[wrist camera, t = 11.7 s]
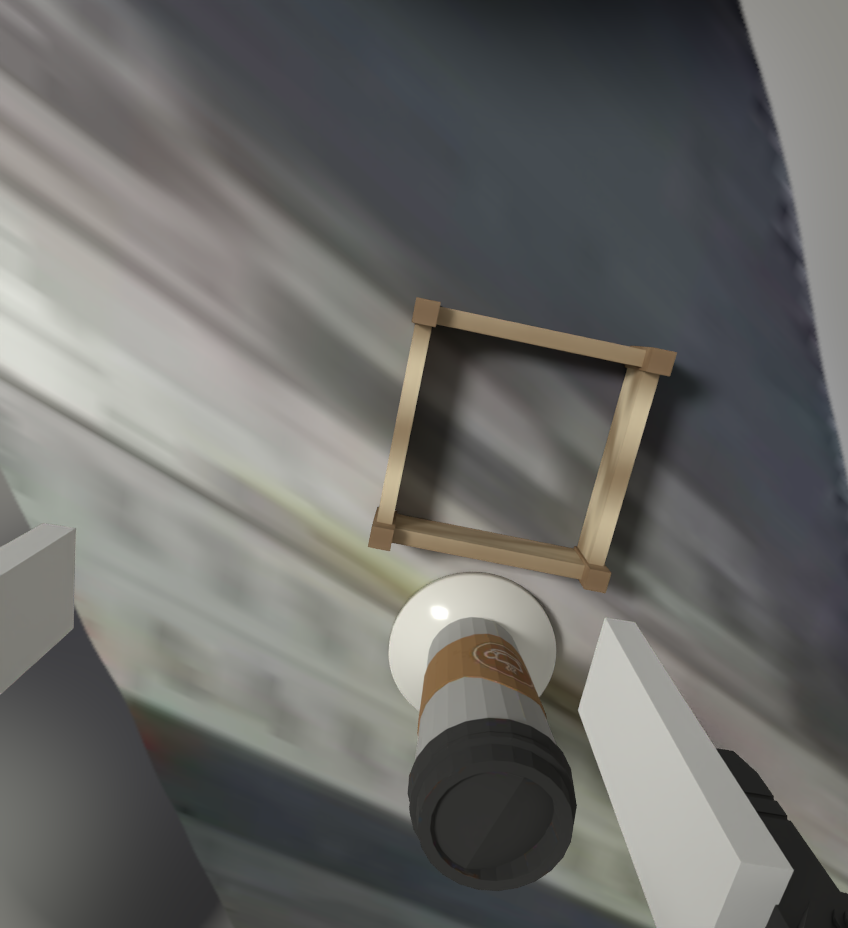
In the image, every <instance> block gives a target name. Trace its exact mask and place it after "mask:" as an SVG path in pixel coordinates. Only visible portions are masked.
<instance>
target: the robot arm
mask: <svg viewBox="0 0 848 928" xmlns="http://www.w3.org/2000/svg"><path fill="white" fill-rule="evenodd" d="M75 534H76V528H71V527H65V526H59V525H53V524H47V523H43V524H41V525H39V526H37V527H36V528H34V529H32V530H30V531H29V532H27V533H25V534H23V535H21V536H20V537H18V538H16V539H14V540H13V541H11V542H9V543H7V544H5V545H4V546H2V547H0V694H2V693H3V692H4V691H5V690H6V689H7V688H8V687H9V686H10V685H11V684H13V683H14V682H15V681H16V680H17V679H18V678H19V677H20V676H21V675H22V674H24V672H26V671H27V670H28V669H29V668H30V667H31V666H32V665H33V664H35V663H36V662H37V661H38V660H39V659H40V658H41V657H42V656H43V655H45V654H46V652H48V651H49V650H50V649H51V648H52V647H53V646H54V645H55V644H56V643H58V642H59V641H60V640H61V639H62V638H63V637H64V636H65V635H67V634H68V633H69V632H70V631H71V630H72V629H73V623H74V622H73V621H74V579H75ZM578 712H579V714H580V717H581V720H582V723H583V725H584V728H585V731H586V734H587V736H588V739H589V742H590V745H591V747H592V750H593V753H594V756H595V759H596V761H597V764H598V767H599V770H600V772H601V775H602V778H603V781H604V783H605V786H606V789H607V792H608V794H609V797H610V800H611V803H612V805H613V808H614V811H615V814H616V817H617V819H618V822H619V825H620V828H621V830H622V833H623V836H624V839H625V841H626V844H627V847H628V850H629V852H630V855H631V858H632V861H633V863H634V866H635V869H636V872H637V875H638V877H639V880H640V883H641V886H642V888H643V891H644V894H645V897H646V899H647V902H648V905H649V908H650V910H651V913H652V916H653V919H654V922H655V924H656V927H657V928H848V894H847V893H843V892H840V891H839V890H838V888H837V887H836V885H835V884H834V882H833V881H832V879H831V878H830V877H829V875H828V874H827V872H826V871H825V869H824V868H823V867H822V865H821V864H820V862H819V861H818V859H817V858H816V856H815V855H814V854H813V852H812V851H811V849H810V848H809V846H808V845H807V844H806V842H805V841H804V839H803V838H802V836H801V835H800V833H799V832H798V831H797V829H796V828H795V826H794V825H793V823H792V822H791V821H788V820H787V815H786V813H785V812H784V810H783V809H782V808H781V806H780V805H779V803H778V802H777V801H774V799H773V797H774V796H773V795H772V793H771V792H770V790H769V789H768V787H767V786H766V785H765V783H764V782H763V780H762V779H761V777H760V776H759V775H758V773H757V772H756V771H755V770H754V769H752V768H751V767H750V766H749V765H748V764H747V763H746V762H745V761H744V760H743V759H741V758H740V757H739V756H738V755H737V754H736V753H735V752H734V751H729V750H723V749H717V748H715V747H714V745H713V743H712V742H711V740H710V739H709V737H708V736H707V734H706V732H705V731H704V729H703V728H702V726H701V725H700V723H699V722H698V720H697V718H696V717H695V715H694V714H693V712H692V711H691V709H690V707H689V706H688V704H687V703H686V701H685V700H684V698H683V697H682V695H681V693H680V692H679V690H678V689H677V687H676V686H675V684H674V683H673V681H672V679H671V678H670V676H669V675H668V673H667V672H666V670H665V668H664V667H663V665H662V664H661V662H660V661H659V659H658V658H657V656H656V654H655V653H654V651H653V650H652V648H651V647H650V645H649V643H648V642H647V640H646V639H645V637H644V636H643V634H642V633H641V631H640V629H639V628H638V626H637V625H636V623H635V622H630V621H624V620H618V619H612V618H606V617H605V619H604V623H603V626H602V630H601V633H600V636H599V640H598V643H597V647H596V650H595V653H594V657H593V660H592V664H591V667H590V671H589V674H588V677H587V681H586V684H585V688H584V691H583V695H582V698H581V701H580V705H579V708H578Z"/></svg>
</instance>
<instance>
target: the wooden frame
mask: <svg viewBox="0 0 848 928" xmlns="http://www.w3.org/2000/svg"><path fill="white" fill-rule="evenodd" d="M440 303H441V302H437V301H432V300H427V299H422V298H418V297H416V302H415V307H414V313H413V318H412V322H413V323H415V328H414V333H413V338H412V343H411V348H410V353H409V358H408V364H407V369H406V374H405V379H404V384H403V389H402V394H401V399H400V404H399V409H398V415H397V420H396V425H395V430H394V435H393V440H392V445H391V450H390V455H389V460H388V466H387V471H386V476H385V481H384V486H383V491H382V496H381V501H380V506H379V507H377V510H376V514H375V517H374V521H373V524H372V529H371V534H370V539H369V544H368V547H371V548H376V549H381V550H386V551H390V548H391V543H396V544H401V545H406V546H412V547H417V548H422V549H427V550H432V551H437V552H442V553H447V554H452V555H457V556H463V557H468V558H473V559H478V560H483V561H488V562H493V563H498V564H503V565H509V566H514V567H519V568H524V569H529V570H534V571H539V572H544V573H549V574H555V575H560V576H565V577H570V578H575V579H578V580H579V581H580V583H581V585H582V586H583V588H584V589H586V590H591V591H597V592H602V593H606V590H607V586H608V583H609V580H610V576H611V572H610V571H609V569H608V568H607V567H606V565H605V560H606V557H607V553H608V550H609V547H610V543H611V540H612V536H613V533H614V530H615V526H616V523H617V519H618V516H619V513H620V509H621V506H622V502H623V499H624V496H625V492H626V489H627V485H628V482H629V478H630V475H631V472H632V468H633V465H634V461H635V458H636V455H637V451H638V448H639V444H640V441H641V438H642V434H643V431H644V427H645V424H646V420H647V417H648V414H649V410H650V407H651V403H652V400H653V397H654V393H655V390H656V386H657V383H658V380H659V376H660V375H665V376H670V374H671V371H672V368H673V364H674V361H675V358H676V354H677V352H672V351H667V350H663V349H658V348H653V347H640V346H630V347H628V346H623V345H618V344H614V343H609V342H604V341H600V340H595V339H590V338H585V337H581V336H576V335H571V334H567V333H562V332H557V331H552V330H548V329H543V328H538V327H534V326H529V325H524V324H519V323H515V322H510V321H505V320H500V319H496V318H491V317H486V316H482V315H477V314H472V313H467V312H463V311H458V310H453V309H449V308H444V307H440ZM436 324H437V325H442V326H447V327H451V328H456V329H461V330H466V331H470V332H475V333H480V334H485V335H489V336H494V337H499V338H504V339H508V340H513V341H518V342H523V343H527V344H532V345H537V346H541V347H546V348H551V349H556V350H560V351H565V352H570V353H575V354H579V355H584V356H589V357H594V358H598V359H603V360H608V361H613V362H617V363H622V364H625V367H626V368H627V371H626V375H625V378H624V382H623V385H622V389H621V393H620V396H619V400H618V403H617V407H616V410H615V414H614V418H613V421H612V425H611V428H610V432H609V435H608V439H607V443H606V446H605V450H604V453H603V457H602V460H601V464H600V467H599V471H598V475H597V478H596V482H595V485H594V489H593V492H592V496H591V500H590V503H589V507H588V510H587V514H586V517H585V521H584V525H583V528H582V532H581V535H580V539H579V542H578V546H574V549H573V548H568V547H562V546H557V545H552V544H547V543H542V542H537V541H532V540H527V539H522V538H517V537H512V536H507V535H502V534H497V533H492V532H487V531H482V530H476V529H471V528H466V527H461V526H456V525H451V524H446V523H441V522H436V521H431V520H426V519H421V518H416V517H411V516H406V515H401V514H397V511H395V507H396V502H397V497H398V492H399V487H400V482H401V477H402V472H403V467H404V462H405V457H406V452H407V447H408V443H409V438H410V433H411V428H412V423H413V418H414V413H415V408H416V403H417V398H418V393H419V388H420V383H421V378H422V373H423V368H424V364H425V359H426V354H427V349H428V344H429V339H430V334H431V329H432V327H436Z"/></svg>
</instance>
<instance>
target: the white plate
mask: <svg viewBox="0 0 848 928" xmlns="http://www.w3.org/2000/svg"><path fill="white" fill-rule="evenodd" d="M468 617H477V618H484V619H487V620H490V621H492V622H495V623H497V624H498V625H500V626H501V627H503V628H505V630H506V631H507V632H508V633H509V634H510V635H511V636H512V638H513V640H514V642H515V644H516V646H517V648H518V651H519V653H520V655H521V657H522V659H523V661H524V663H525V665H526V668H527V670H528V672H529V675H530V677H531V679H532V682H533V684H534V687H535V689H536V691H537V694H538V696H539V697H540V695H541V694H542V693H543V691H544V690H545V688H546V687H547V685H548V683H549V681H550V679H551V676H552V673H553V671H554V666H555V662H556V640H555V636H554V632H553V629H552V626H551V624H550V621H549V619H548V616H547V614H546V613H545V611H544V609H543V607H542V606H541V605H540V603H539V602H538V601H537V600H536V599H535V598H534V597H533V596H532V595H531V594H530V593H529V592H528V591H527V590H526V589H524V588H523V587H522V586H520V585H518V584H517V583H515V582H513V581H511V580H509V579H506V578H504V577H501V576H498V575H494V574H490V573H482V572H463V573H456V574H452V575H448V576H444V577H442V578H439V579H436V580H434V581H432V582H431V583H429V584H427V585H425V586H424V587H422V588H421V589H420V590H418V591H417V592H416V593H415V594H414V595H412V596H411V597H410V598H409V599H408V601H407V602H406V603H405V604H404V605H403V607H402V608H401V610H400V612H399V613H398V615H397V617H396V619H395V622H394V624H393V627H392V631H391V635H390V643H389V663H390V669H391V672H392V676H393V679H394V681H395V683H396V685H397V687H398V689H399V690H400V692H401V693H402V695H403V696H404V697H405V698H406V699H407V701H408V702H409V703H410V704H411V705H412V706H414V707H415V708H416V709H417V710H418V711H420V705H421V697H422V690H423V682H424V675H425V672H426V669H427V661H428V653H429V649H430V646H431V643H432V641H433V639H434V638H435V637H436V635H437V634H438V633H439V631H441V630H442V629H443V628H444V627H446V626H447V625H448V624H450V623H452V622H454V621H457V620H459V619H462V618H468Z"/></svg>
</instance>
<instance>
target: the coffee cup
mask: <svg viewBox="0 0 848 928" xmlns="http://www.w3.org/2000/svg"><path fill="white" fill-rule="evenodd" d="M408 797H409V801H410V806H409V810H410V816H411V820H412V824H413V829H414V831H415V833H416V835H417V836H418V838H419V840H420V843H421V847H422V849H423V851H424V853H425V854H426V856H427V858H428V859H429V861H430V863H431V864H433V865H434V866H435V867H436V868H437V869H438V870H439V871H440V872H441V873H442V874H443V875H444V876H446V877H448V878H450V879H451V880H453V881H455V882H457V883H458V884H461V885H464V886H468V887H471V888H474V889H478V890H492V891H500V890H507V889H514V888H519V887H521V886H524V885H527V884H529V883H532V882H535V881H536V880H538V879H539V878H541V877H542V876H544V875H545V874H547V873H548V872H550V871H551V870H552V869H553V868H554V867H555V866H556V865H557V864H558V862H559V861H560V860H561V859H562V858H563V857H564V855H565V853H566V850H567V848H568V846H569V844H570V842H571V838H572V831H573V825H574V819H575V813H576V807H577V805H576V798H575V792H574V785H573V780H572V773H571V768H570V766H569V764H568V762H567V760H566V758H565V756H564V754H563V752H562V751H561V750H560V749H559V747H558V746H557V744H556V742H555V739H554V737H553V734H552V732H551V729H550V727H549V724H548V722H547V718H546V713H545V711H544V708H543V706H542V704H541V701H540V699H539V696H538V694H537V691H536V689H535V687H534V684H533V682H532V679H531V677H530V675H529V672H528V670H527V668H526V665H525V663H524V661H523V659H522V657H521V655H520V653H519V651H518V648H517V646H516V644H515V642H514V640H513V638H512V636H511V635H510V634H509V633H508V632H507V631H506V630H505V628H503V627H501V626H500V625H498V624H497V623H495V622H492V621H490V620H487V619H484V618H477V617H468V618H462V619H459V620H457V621H454V622H452V623H450V624H448V625H447V626H446V627H444V628H443V629H442V630H441V631H439V633H438V634H437V635H436V637H435V638H434V639H433V641H432V643H431V646H430V649H429V653H428V661H427V669H426V672H425V675H424V682H423V690H422V697H421V705H420V713H419V721H418V741H417V750H416V758H415V762H414V765H413V767H412V770H411V772H410V775H409V785H408Z"/></svg>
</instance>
